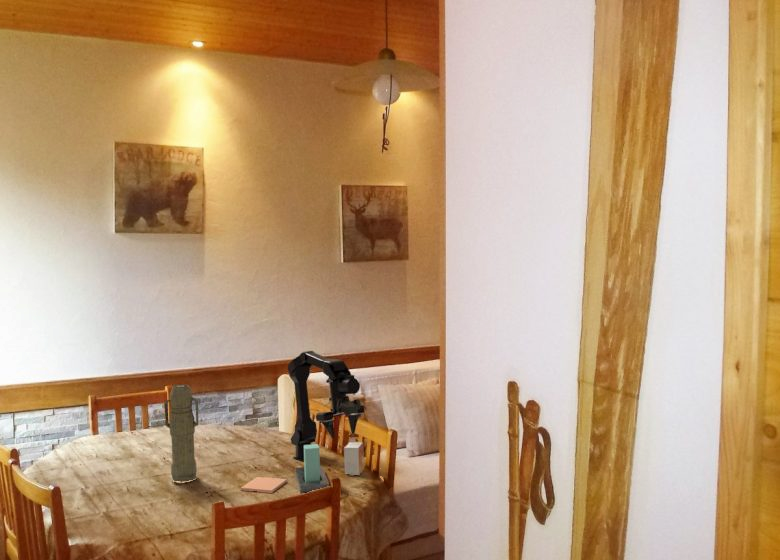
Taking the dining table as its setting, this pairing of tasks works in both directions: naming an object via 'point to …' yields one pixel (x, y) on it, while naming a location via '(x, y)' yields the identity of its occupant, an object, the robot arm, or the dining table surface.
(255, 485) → the tile
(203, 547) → the dining table surface
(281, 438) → the dining table surface
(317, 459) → the peg
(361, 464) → the small box
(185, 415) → the thermos
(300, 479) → the grey slotted board
